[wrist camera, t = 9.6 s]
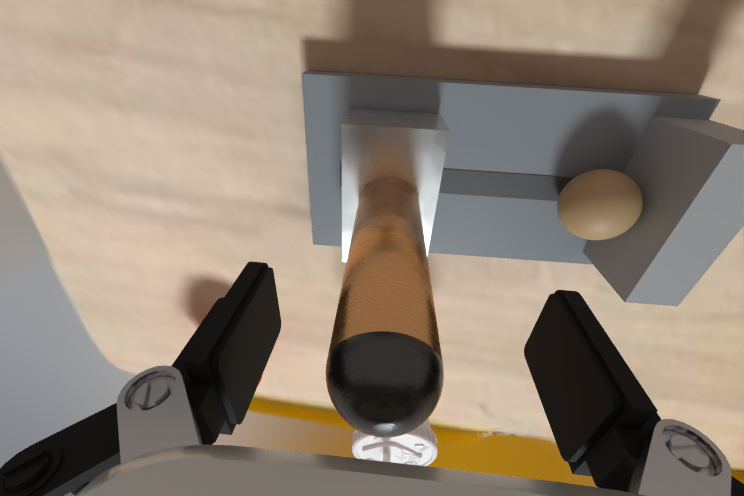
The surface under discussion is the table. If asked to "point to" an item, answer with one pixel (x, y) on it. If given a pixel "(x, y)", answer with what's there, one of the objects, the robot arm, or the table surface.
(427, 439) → the smoothie
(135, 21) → the table surface
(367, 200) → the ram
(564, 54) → the table surface
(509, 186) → the frame
